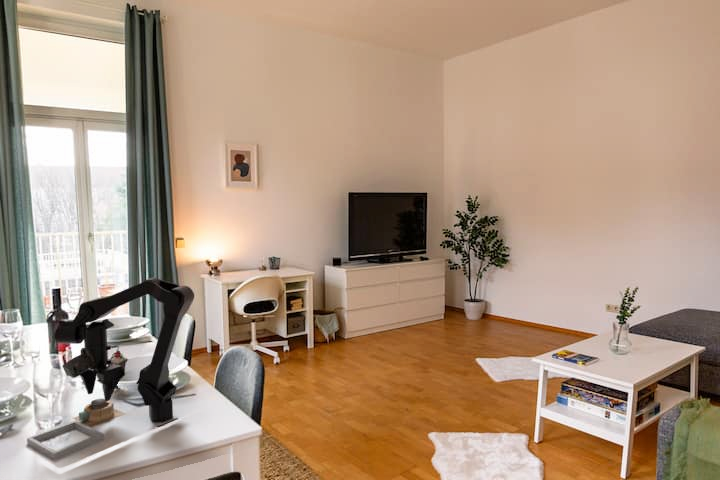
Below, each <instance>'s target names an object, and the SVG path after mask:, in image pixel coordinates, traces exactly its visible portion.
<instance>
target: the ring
mask: <svg viewBox="0 0 720 480" xmlns="http://www.w3.org/2000/svg"><path fill="white" fill-rule="evenodd" d="M114 409H115V407H114V402H113V401H111V400H109V401H106V403H105V407H104V408H101V409H93V406H92V405H91V403H88V404H86V405H85V406H84V408H83V411H80V412H78V416H79V420H81V421H86V420H87V421H90V422H91V421H101V420H104V419H107V418H109V417H111V416H112V415H113V413H114Z"/></svg>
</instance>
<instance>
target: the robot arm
mask: <svg viewBox="0 0 720 480" xmlns="http://www.w3.org/2000/svg"><path fill="white" fill-rule="evenodd" d="M147 295H149V296H151V297H152V298H154V299H155V300H156V301H157V302H159V303H161V304H163V306H162V307H163V308H162V310H163V317H164V318H163V320H162V321H163V322H162V325H161V328H160V332H159V334H158V335H159V336H158V338H157V342H156V345H155V349H154V352H153V355H152V358H151V361H150V364H148V365H147V366H145V367H144V368H141V370H140V372H139V375H138V376H139V377H138V380H137V381H136V383H135V384H136V385H137V392H138V394H139V395H141V398H142V401H143V403H144V405H145V406H147V407H148V411H149V413H148V414H149V418H150V422H152V423H162V424H160V425H158V426H157V428H160V427H162V426H165V425H167V424H170V423H171V422H174V421H177V420H178V419H179V418H178V417H176V418H174V414H173V413H174V409H173V399H172V397H173V396H174V395H175V394H176V392H177V389H178V387H177V386H176V385H175V384H174V383H173V382H172V381H171V380H170V379H169V378H170V376H169V375H170V369H169V362H170V359H171V355H172V352H173V349H174V347H175V343H176V339H177V337H178V333H179V330H180V329H179V328H180V326H181V323H182V320H183V318H184V316H185V315H186V314H187V313H188V311H189V309H190V307H191V305H192V304H193V302H194V299H195V292H194V290H193V289H192V287H189V286H188V285H179V284H177V283H173V282H169V281H165V280H163V279H160V278H158V277H150V278H148V279H144V280H143V281H142V282H140V283H138V284H136V285H132V286H130V287H128V288H126V289H123V290H121V291H118V292H117V293H114V294H112V295H111V294H110V295H106V296H100V297H97V298H93V299H91V300H88V301H85V302H82V303H81V304H80V305H79V308H78V312H77V314H76V315H75V317H74V318H73V319H68V318H64V319H61V320H59V321H58V325H57V327H56V329H55V331H54V334H53V335H54V340H55V342H56V343H58V344H68V345H69V344H76V345H78V344H82V343H83V342H84V347H82V348H80V354H79V355H77V356H75V357H73V358H72V359H70V360H68V361H66V362H65V363H64V364H62V368H63V371H64V373H65V375H66V376H67V377H70V378H72V379H73V378H77V377H80V378H81V380H82V383H83V385H84V386H85V390H86V392H87V394H88V395H92V394H93V393H94V389H95V384H96V381H97V382H98V383H99V384H101V386H102V391H103V396H104V399H105V401H111V398H112V396H113V394H114V393H115V390H116V389H115V388H116V386H117V384H118V382H119V380H120V378H122V377H123V376H124V377H125V376H126V367H125V368H124V367H122V366H120V365H117V364H113V365H110V366H108V364H111V360H110V359H111V358H109V353H108V351H110V350H112V348H111V345H108V332H107V330H108V329H110V328H113V327H114V326H115V324H114V323H113V322H111V321H110V320H109V318H105V317H106V316H108V315H109V314H111V313H112V312H114V311H115V310H117V308H119V307H121V306H124V305H126V304H128V303H130V302H133V301H135V300H138V299H140V298H143V297H145V296H147ZM103 318H105V319H103ZM99 319H100V320H101V319H103V320H101V321H97V320H99ZM87 323H90V324H87ZM124 377H123V378H124ZM123 378H122V379H123ZM120 381H121V380H120Z"/></svg>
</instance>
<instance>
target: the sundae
mask: <svg viewBox="0 0 720 480" xmlns="http://www.w3.org/2000/svg"><path fill="white" fill-rule="evenodd" d="M119 349H120V347H119V346H118V347H117V349H116V352H113V354H112V355H111V357H110V358H109V359H110V360H111V364H108V365H107V366H110V365H113V364H117V365H120V366H122V367H124V368H125V369H126V363H127V362H128V361H129V359H128V358H127V357H125V356H124V355H123V353H122V352H121V351H120V350H119ZM124 377H125V376H123V377H122V378H120V380H119V381H120V382H121V380H122V379H123V378H124ZM115 390H118V386H116V388H115Z"/></svg>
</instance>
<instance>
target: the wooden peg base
mask: <svg viewBox="0 0 720 480" xmlns="http://www.w3.org/2000/svg"><path fill="white" fill-rule="evenodd" d="M105 403H106V401H105V398H97V399H96V398H95V399H94V400H92V401H91V402H90V404H91V405H92V406H93V409H101V408H104V407H105ZM126 414H127V413H126V412H123V411H121V410H118V409H115V408H114V413H113V415H112V416H111V417H109V418H107V419H104V420H101V421H91V422H90V421H87V420H86V421H81V420H79V415H77V416H75V417H72V419H73V420H74V421H78V422H80V423H82V424H84V425H86V426H88V427H90V428H92V427H96V426H98V425H100V424H102V423H105V422H108V421H110V420H113V419H117V418H119V417H122V416H124V415H126Z"/></svg>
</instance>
